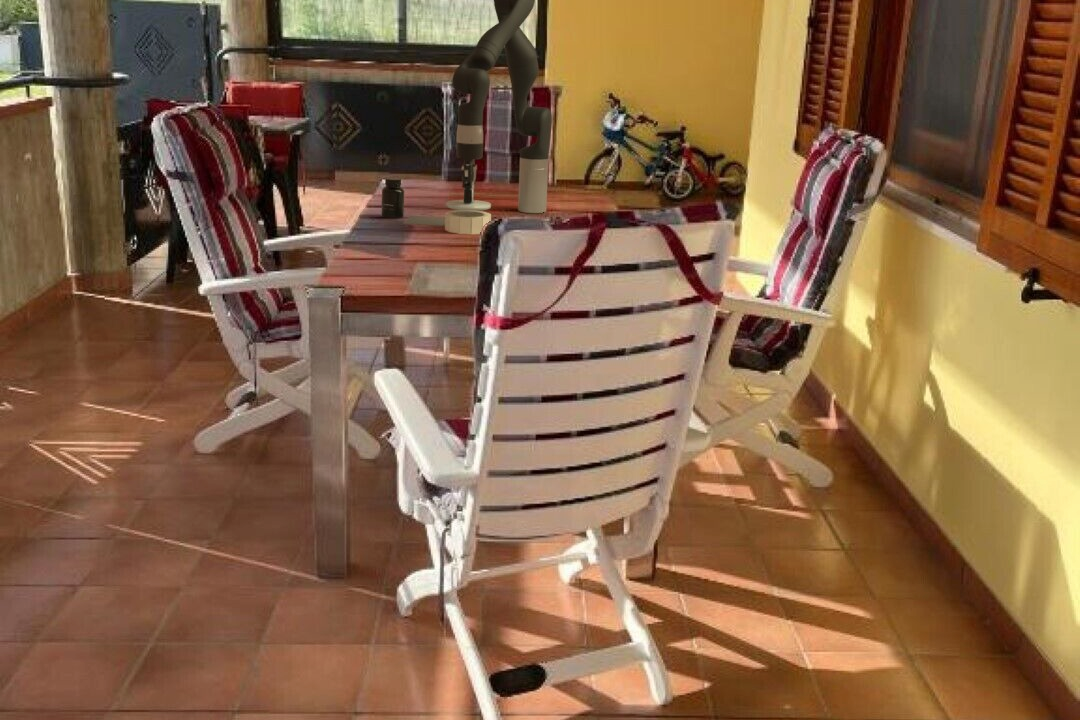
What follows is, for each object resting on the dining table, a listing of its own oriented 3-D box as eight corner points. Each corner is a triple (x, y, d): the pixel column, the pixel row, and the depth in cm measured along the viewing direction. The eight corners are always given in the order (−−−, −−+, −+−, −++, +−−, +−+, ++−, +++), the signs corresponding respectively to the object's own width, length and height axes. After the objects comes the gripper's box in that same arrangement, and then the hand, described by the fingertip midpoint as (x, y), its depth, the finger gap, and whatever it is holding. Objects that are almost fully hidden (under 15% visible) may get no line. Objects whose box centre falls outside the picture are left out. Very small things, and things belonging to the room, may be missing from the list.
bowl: (448, 225, 313) (449, 209, 312) (492, 228, 313) (492, 211, 311) (442, 234, 301) (442, 216, 299) (487, 236, 300) (488, 219, 299)
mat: (410, 217, 325) (410, 215, 325) (455, 219, 324) (455, 218, 324) (402, 225, 311) (402, 223, 311) (449, 227, 311) (449, 226, 311)
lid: (449, 202, 311) (449, 181, 309) (492, 204, 310) (493, 184, 309) (442, 209, 299) (443, 188, 297) (488, 211, 298) (488, 190, 296)
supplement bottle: (383, 220, 318) (382, 180, 314) (380, 216, 324) (380, 176, 321) (405, 219, 320) (405, 180, 316) (402, 215, 326) (402, 177, 323)
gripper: (480, 144, 292) (478, 206, 297) (485, 139, 305) (484, 198, 311) (453, 142, 292) (452, 205, 298) (460, 138, 306) (458, 197, 311)
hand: (468, 201), depth 304 cm, fingers closed on lid, 2 cm apart
